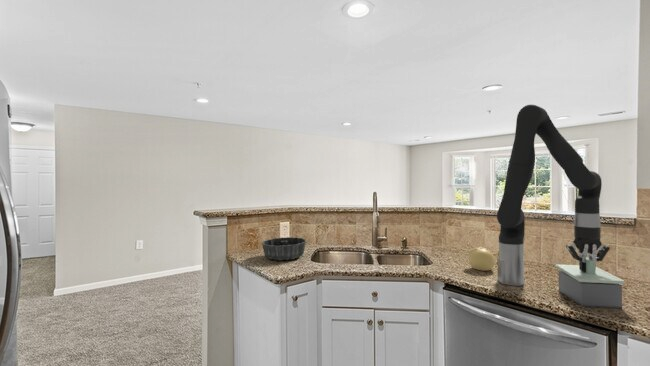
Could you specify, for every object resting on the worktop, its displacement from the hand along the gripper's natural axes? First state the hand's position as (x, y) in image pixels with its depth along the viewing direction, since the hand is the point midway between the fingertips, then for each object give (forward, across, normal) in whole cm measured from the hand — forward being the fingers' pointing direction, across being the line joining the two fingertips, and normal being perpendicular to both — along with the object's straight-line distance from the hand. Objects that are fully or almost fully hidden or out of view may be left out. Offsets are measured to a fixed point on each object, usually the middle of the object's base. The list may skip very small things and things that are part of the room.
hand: (587, 271), depth 119 cm
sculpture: (+10, -28, +36) cm, 46 cm away
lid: (+2, 0, 0) cm, 2 cm away
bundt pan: (+11, -134, +46) cm, 142 cm away
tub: (+10, 0, 0) cm, 10 cm away
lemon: (+10, -12, +52) cm, 54 cm away
